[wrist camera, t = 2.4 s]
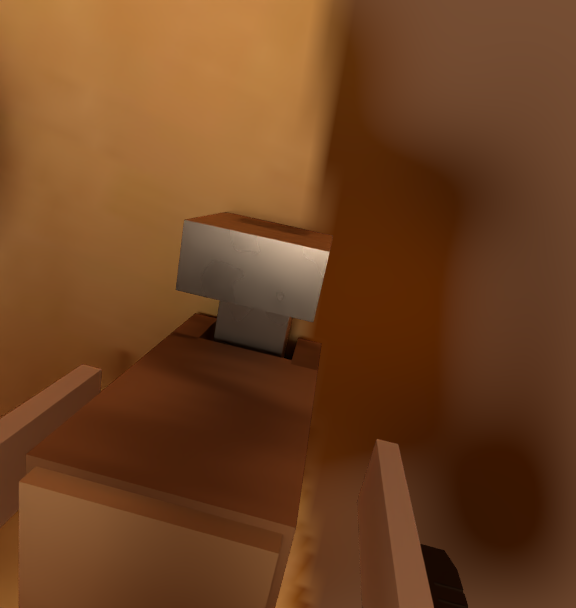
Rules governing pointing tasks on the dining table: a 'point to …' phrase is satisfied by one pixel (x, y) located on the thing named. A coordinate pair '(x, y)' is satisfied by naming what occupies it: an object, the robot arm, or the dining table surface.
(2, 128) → the dining table surface
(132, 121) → the dining table surface
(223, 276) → the rail
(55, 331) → the dining table surface
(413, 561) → the robot arm
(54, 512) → the block
